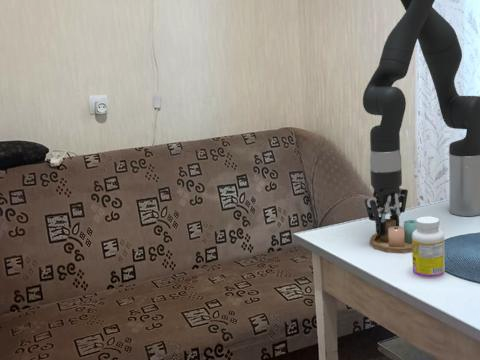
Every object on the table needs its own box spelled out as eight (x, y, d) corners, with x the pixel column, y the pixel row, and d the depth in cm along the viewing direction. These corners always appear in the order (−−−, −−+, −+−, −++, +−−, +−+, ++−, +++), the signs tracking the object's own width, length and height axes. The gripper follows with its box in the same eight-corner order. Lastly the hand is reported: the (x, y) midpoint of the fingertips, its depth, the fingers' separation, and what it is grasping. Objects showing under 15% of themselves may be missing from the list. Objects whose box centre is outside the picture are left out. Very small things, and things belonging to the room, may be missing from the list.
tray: (376, 235, 156) (376, 228, 155) (431, 238, 150) (431, 231, 149) (365, 254, 143) (364, 246, 143) (424, 258, 137) (424, 250, 137)
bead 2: (390, 244, 146) (389, 225, 144) (405, 245, 144) (405, 226, 143) (387, 250, 142) (386, 230, 141) (403, 251, 141) (402, 231, 140)
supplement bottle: (416, 268, 132) (415, 214, 129) (446, 271, 129) (446, 215, 126) (409, 279, 126) (408, 223, 124) (441, 283, 123) (441, 225, 120)
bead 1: (387, 236, 152) (387, 217, 151) (398, 239, 149) (399, 220, 148) (377, 239, 150) (377, 220, 149) (388, 242, 146) (389, 223, 145)
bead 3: (402, 239, 148) (401, 220, 147) (416, 238, 149) (416, 219, 148) (407, 244, 145) (407, 225, 144) (422, 242, 145) (422, 223, 144)
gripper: (392, 160, 152) (394, 223, 156) (354, 171, 144) (357, 237, 148) (416, 163, 146) (417, 228, 150) (378, 175, 138) (380, 243, 142)
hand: (387, 232), depth 149 cm, fingers open, 4 cm apart
